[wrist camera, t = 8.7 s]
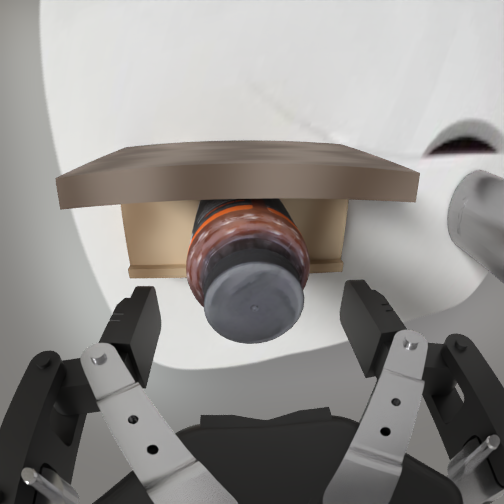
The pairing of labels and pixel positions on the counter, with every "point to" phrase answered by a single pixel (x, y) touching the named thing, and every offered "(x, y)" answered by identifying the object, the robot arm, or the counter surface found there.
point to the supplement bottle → (247, 267)
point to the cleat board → (231, 192)
